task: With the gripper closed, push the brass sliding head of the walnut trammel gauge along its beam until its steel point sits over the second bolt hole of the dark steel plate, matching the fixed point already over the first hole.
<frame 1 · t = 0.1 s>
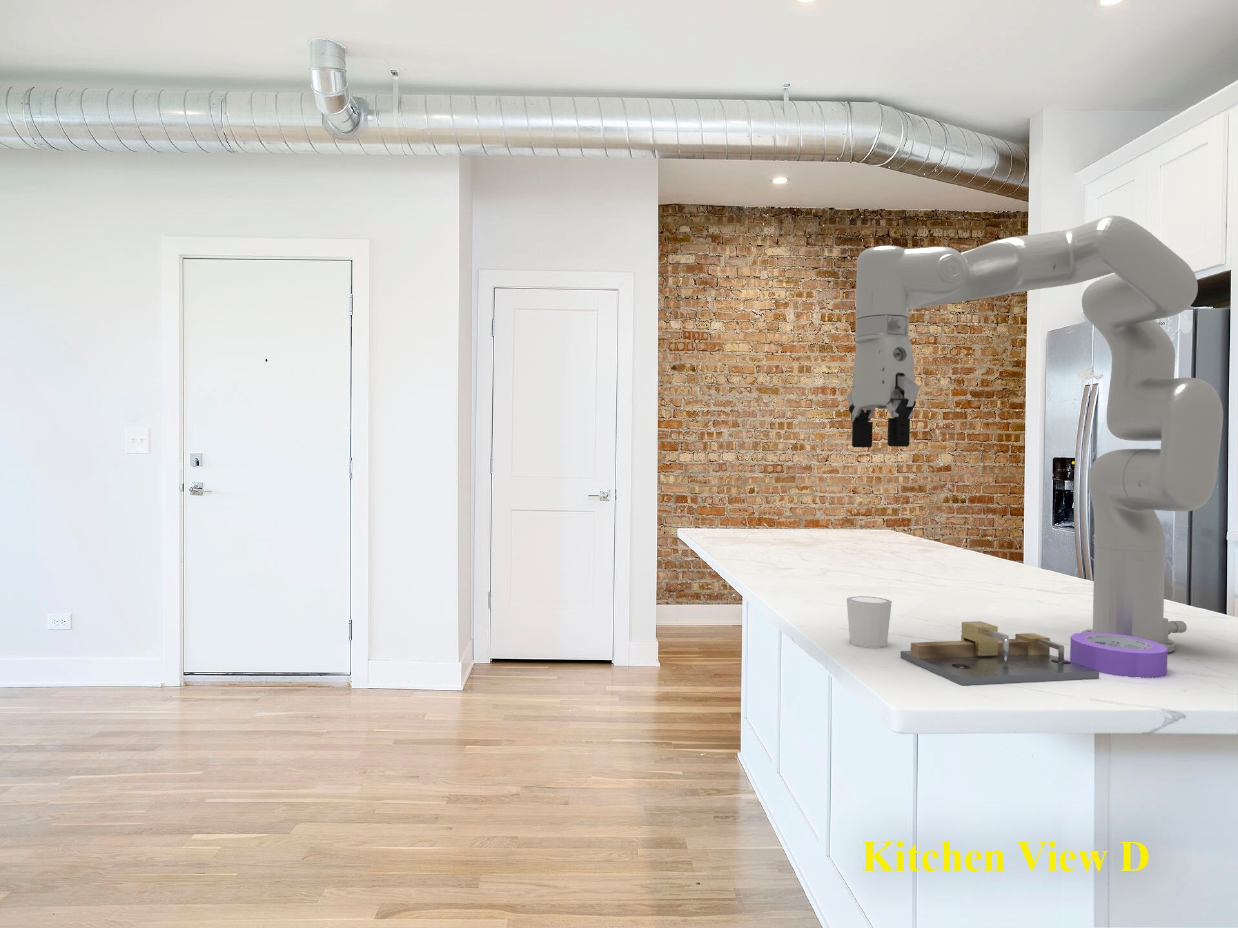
hand: (879, 446, 113), 31 cm above the table, tool pointing down, fingers open, 9 cm apart
masking tape: (1117, 669, 110), on the table
plate: (995, 667, 108), on the table
trammel beam: (978, 660, 111), resting on plate
sliding head: (988, 641, 109), point 3 cm above the table, slide at 3.0 cm
light grey cup: (868, 644, 121), on the table
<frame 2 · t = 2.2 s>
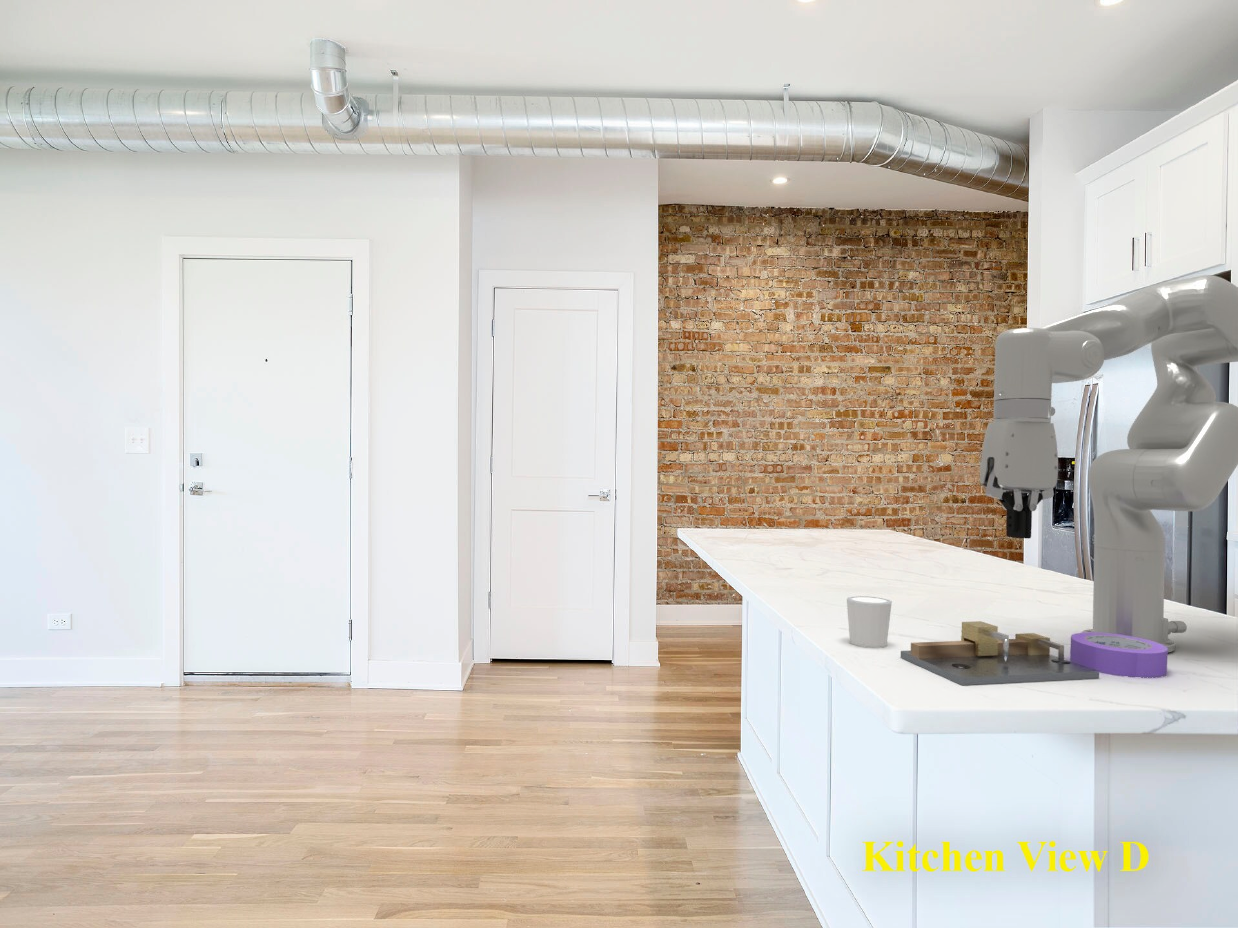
hand: (1018, 537, 112), 18 cm above the table, tool pointing down, fingers closed
nothing on the table moved.
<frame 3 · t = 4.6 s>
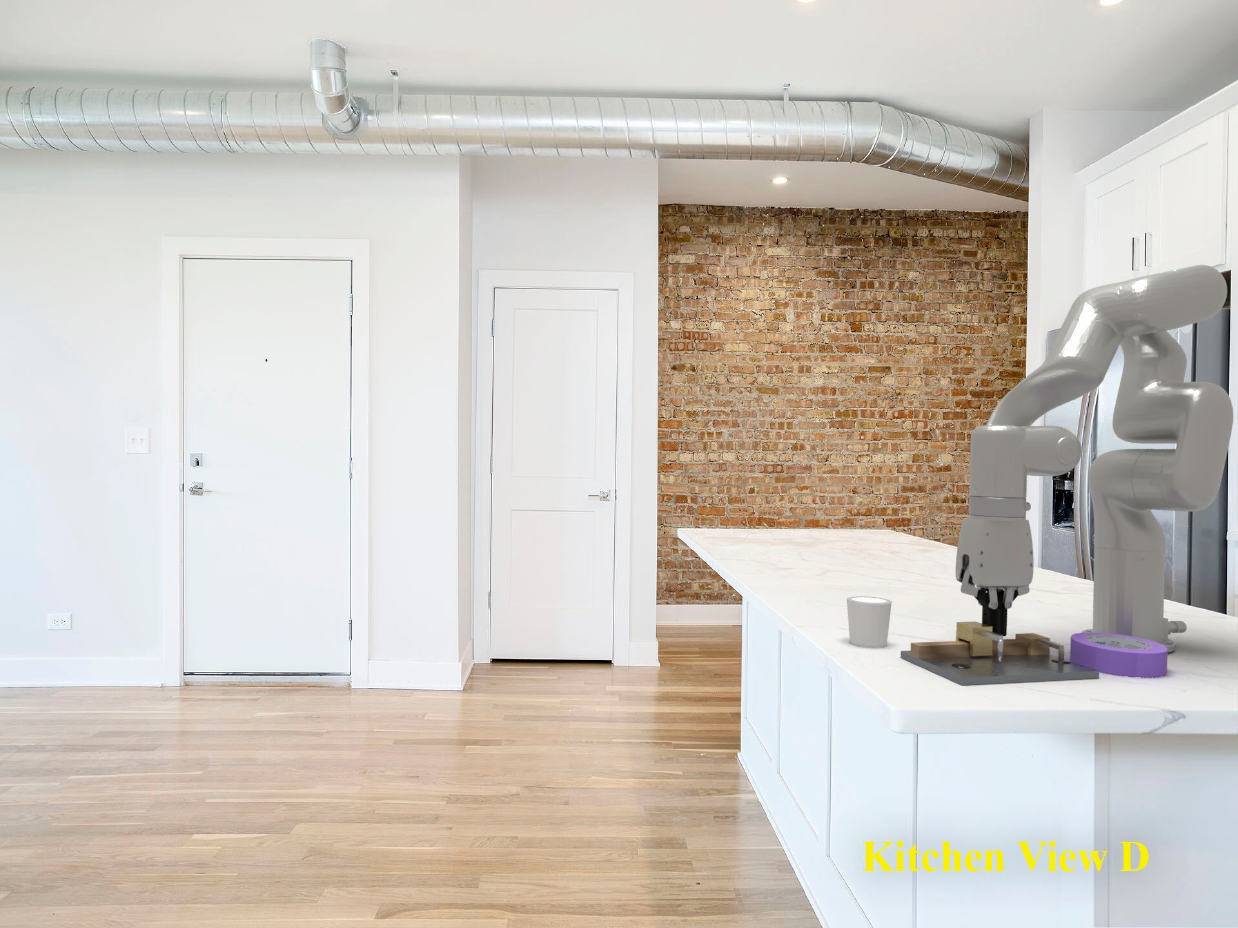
hand: (994, 634, 111), 4 cm above the table, tool pointing down, fingers closed
sliding head: (983, 641, 109), point 3 cm above the table, slide at 3.9 cm, touching gripper
everything else where it was.
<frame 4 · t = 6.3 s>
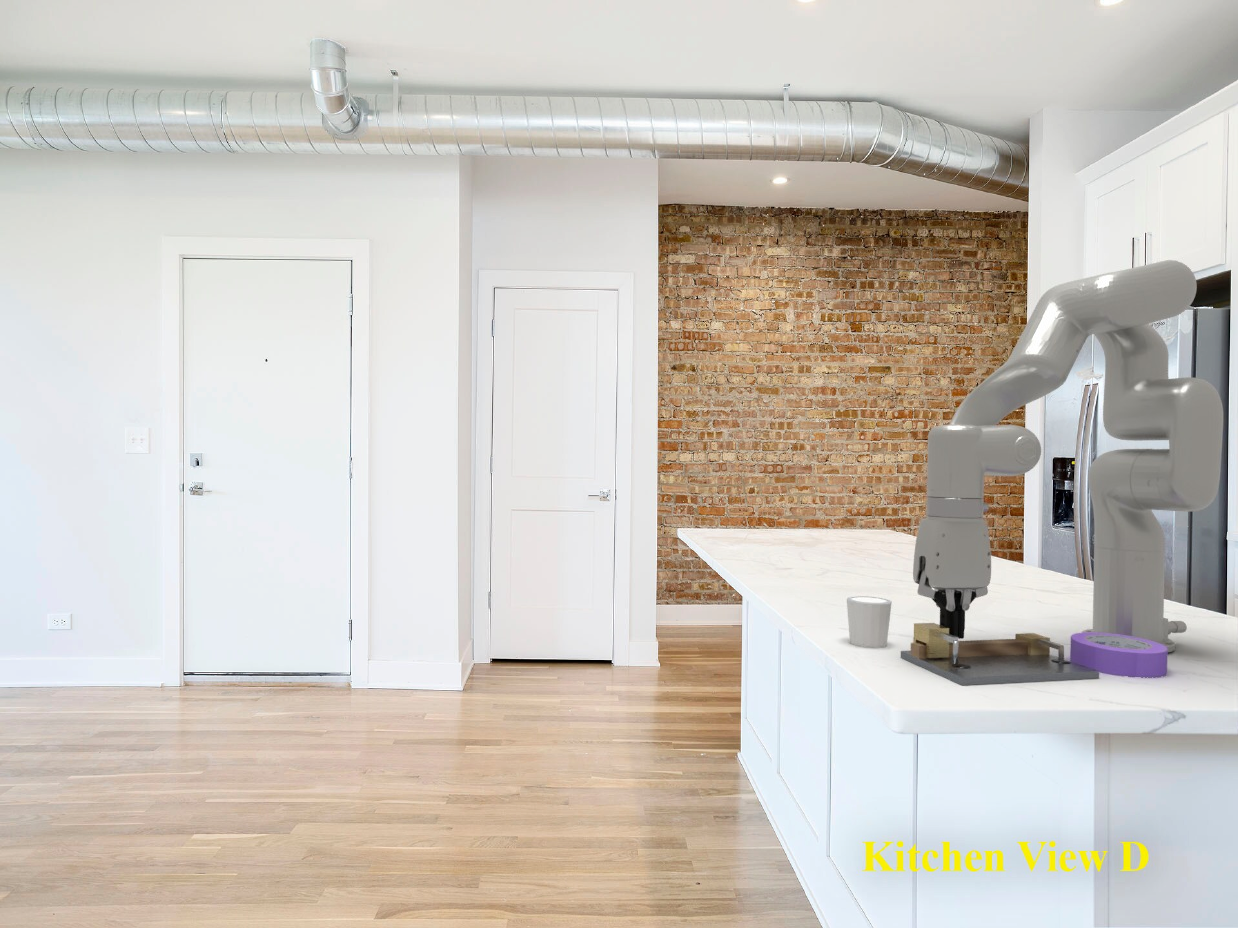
hand: (951, 636, 110), 4 cm above the table, tool pointing down, fingers closed
sliding head: (939, 643, 107), point 3 cm above the table, slide at 10.9 cm, touching gripper
everything else where it was.
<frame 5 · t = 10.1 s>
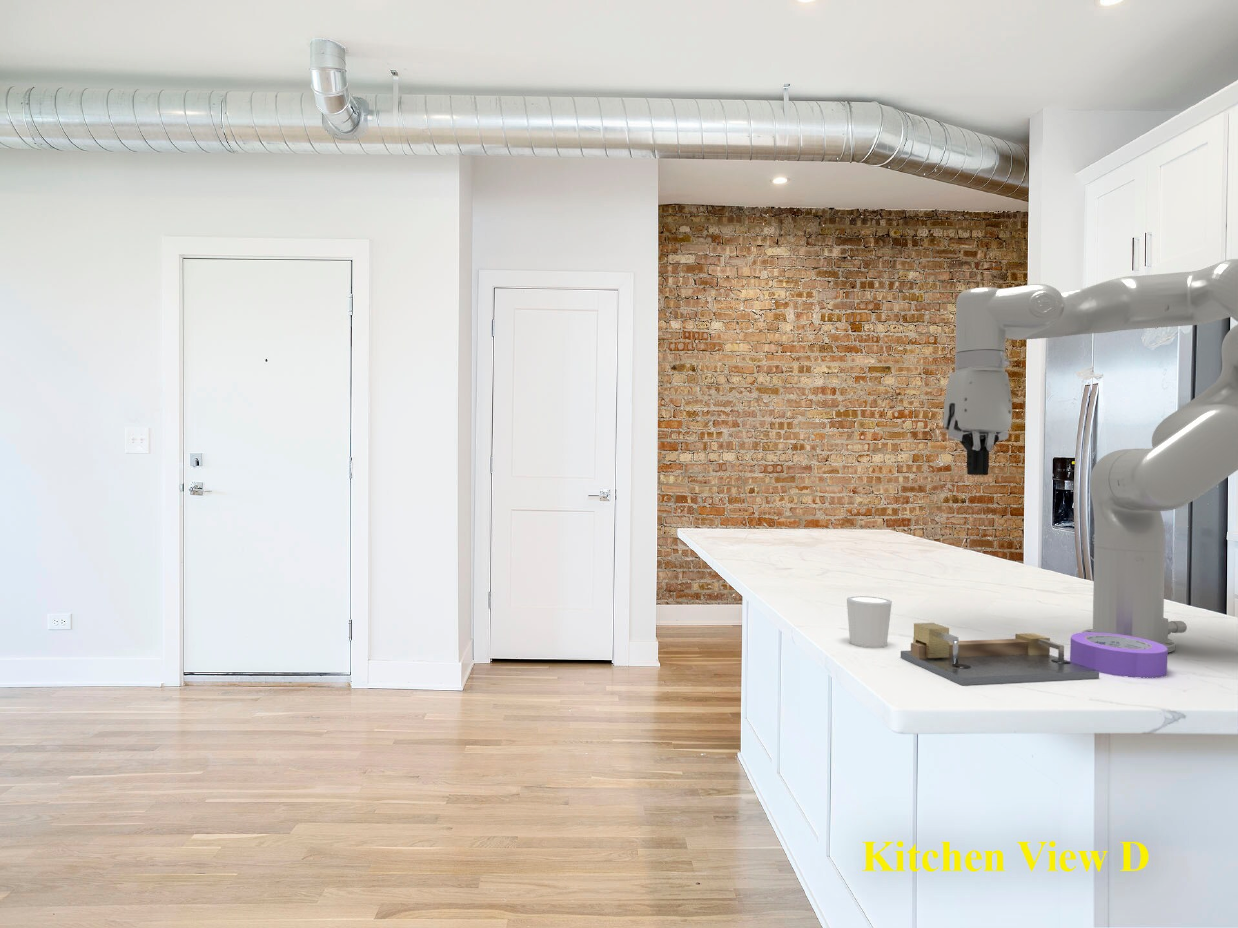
hand: (977, 474, 126), 27 cm above the table, tool pointing down, fingers closed
sliding head: (939, 643, 107), point 3 cm above the table, slide at 10.9 cm
everything else where it was.
at the end: sliding head slide at 10.9 cm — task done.
